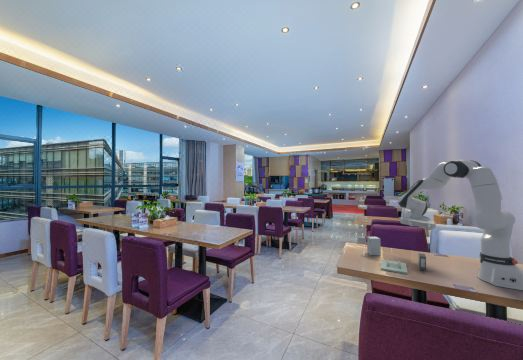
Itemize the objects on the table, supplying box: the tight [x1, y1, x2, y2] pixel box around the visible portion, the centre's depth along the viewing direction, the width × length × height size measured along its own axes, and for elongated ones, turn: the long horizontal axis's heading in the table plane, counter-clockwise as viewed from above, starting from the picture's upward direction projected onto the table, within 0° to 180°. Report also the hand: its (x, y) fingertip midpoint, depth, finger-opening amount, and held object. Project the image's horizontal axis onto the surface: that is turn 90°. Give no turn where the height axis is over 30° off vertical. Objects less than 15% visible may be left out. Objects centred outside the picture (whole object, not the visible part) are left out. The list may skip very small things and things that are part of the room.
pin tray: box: [380, 259, 409, 275], centre depth 143 cm, size 18×14×4 cm
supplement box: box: [366, 236, 382, 256], centre depth 170 cm, size 7×7×13 cm
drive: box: [417, 252, 427, 272], centre depth 139 cm, size 6×3×9 cm, turn 150°
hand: (420, 226), depth 148 cm, fingers open, 8 cm apart
